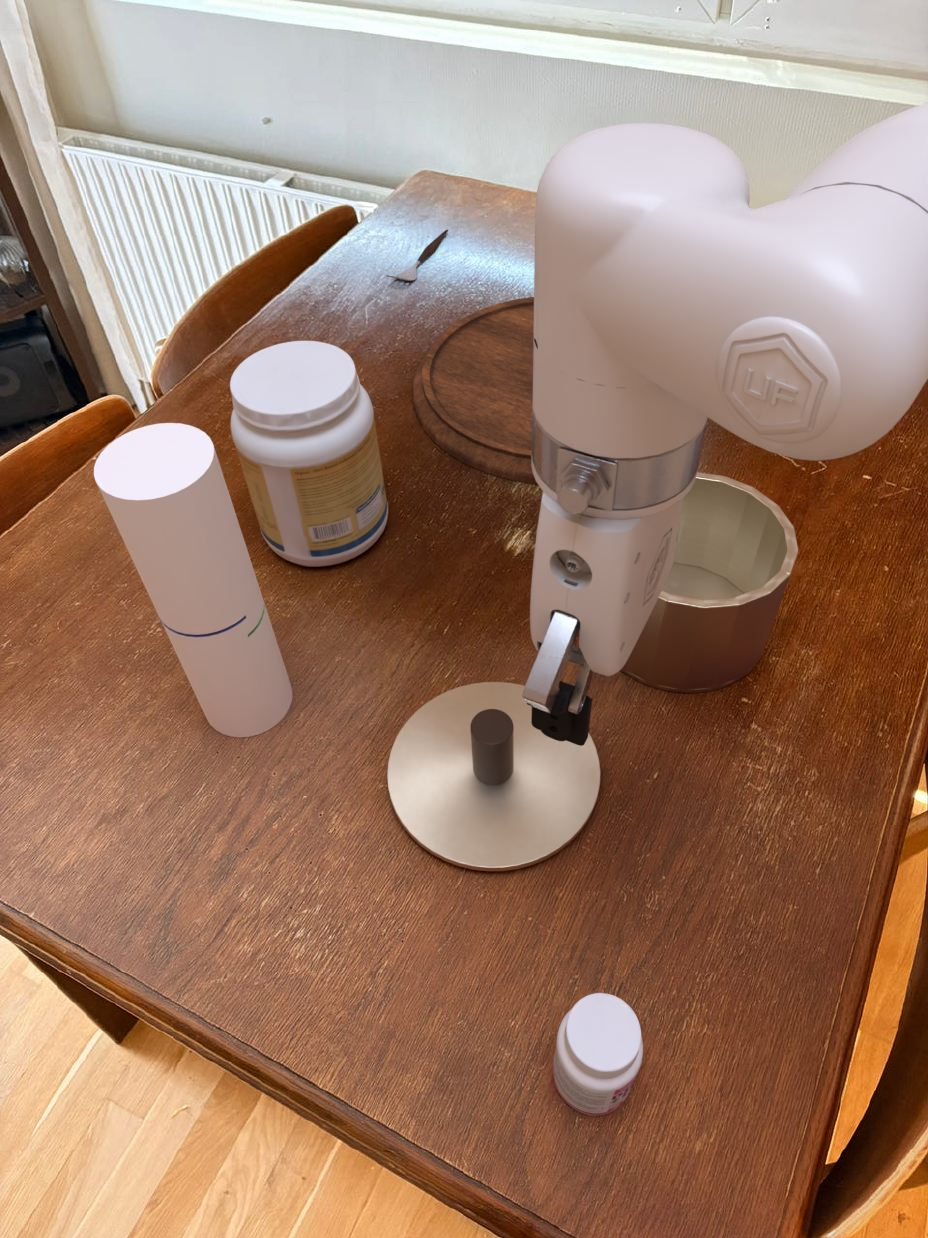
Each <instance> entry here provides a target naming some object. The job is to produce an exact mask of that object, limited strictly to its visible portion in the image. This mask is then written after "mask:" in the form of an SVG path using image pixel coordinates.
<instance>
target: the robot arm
mask: <svg viewBox="0 0 928 1238" xmlns="http://www.w3.org/2000/svg"><path fill="white" fill-rule="evenodd" d="M750 195H751V194H750V184H749V179H748V175H747V172H746V168H745V166H744V164H743V162H742V160H741V159H740V157H739V156H738V155H737V153H736V152H734V151H733V149H732V148H731V147H729V146H728V145H726V144H725V143H724V142H723V141H721V140H720V139H719V138H717V137H715V136H712V135H710V134H708V133H705V132H703V131H700V130H698V129H693V128H690V127H685V126H682V125H681V126H680V125H674V124H668V123H659V122H657V123H656V122H629V123H621V124H615V125H609V126H604V127H600V128H596V129H593V130H590V131H587V132H584V133H582V134H580V135H577V136H576V137H574V138H573V139H571V140H570V141H568V142H567V143H565V144H564V145H562V146H561V147H560V148H558V149H557V151H556V152H554V154H553V155H552V156H551V157H550V159H549V160H548V161H547V163H546V165H545V168H544V170H543V172H542V174H541V176H540V179H539V181H538V186H537V190H536V200H535V213H534V216H535V217H534V262H533V263H534V266H533V267H534V269H533V274H534V275H533V276H534V277H533V279H534V280H533V297H534V330H533V404H532V460H531V466H532V472H533V475H534V477H535V480H536V482H537V483H538V484H537V485H538V486H539V488H540V490H541V491H542V495H541V501H540V507H539V514H538V520H537V527H536V535H535V537H536V538H535V545H534V553H533V561H532V571H531V572H532V573H531V584H530V597H529V598H530V600H529V603H530V604H529V629H530V637H531V641H532V645H533V646H534V648H535V649H536V651H537V652H538V653H537V655H536V658H535V660H534V662H533V665H532V666H531V667H532V668H531V669H530V672H529V674H528V677H527V680H526V682H525V685H524V686H525V687H524V690H523V694H522V697H523V699H524V700H525V701H526V702H527V705H530V706H532V718H531V723H532V726H533V727H534V728H536V729H538V730H541V732H542V733H543V734H544V735H546V736H547V737H549V738H552V739H554V740H557V741H565V740H566V741H569V742H571V743H574V744H576V745H579V746H583V745H584V744H585V742H586V740H587V738H588V732H589V733H590V723H591V722H590V721H591V713H592V703H593V698H591V697H590V696H589V695H588V692H589V689H590V686H591V682H592V679H593V676H594V673H596V674H599V675H603V676H605V677H611V676H613V675H616V674H617V673H618V672H620V671H621V669H622V668H623V666H624V665H625V663H626V661H627V660H628V658H629V656H630V654H631V652H632V650H633V648H634V646H635V644H636V642H637V640H638V638H639V636H640V634H641V632H642V630H643V628H644V626H645V624H646V622H647V620H648V618H649V616H650V614H651V612H652V610H653V608H654V606H655V604H656V602H657V600H658V597H659V595H660V593H661V591H662V589H663V587H664V585H665V583H666V580H667V578H668V576H669V574H670V571H671V568H672V566H673V562H674V559H675V555H676V549H677V542H678V534H679V527H680V519H681V512H682V504H683V498H684V497H685V496H686V495H687V493H688V492H689V491H690V490H691V488H692V486H693V484H694V482H695V479H696V475H697V472H699V465H700V459H701V454H702V448H703V443H704V439H705V434H706V429H707V424H708V419H709V420H711V421H713V422H714V423H716V424H717V425H718V426H720V427H722V428H723V429H725V430H726V431H728V432H730V433H731V434H733V435H735V436H737V437H739V438H740V439H742V440H744V441H745V442H748V443H749V444H752V445H753V446H757V447H759V448H761V449H763V450H765V451H768V452H769V453H772V454H775V455H779V456H784V457H787V458H790V459H794V460H803V461H812V462H813V461H814V462H815V461H831V460H836V459H837V460H838V459H840V458H844V457H847V456H851V455H854V454H856V453H859V452H861V451H862V450H865V449H867V448H869V447H870V446H872V445H874V444H875V443H877V442H878V441H879V440H881V439H882V438H883V437H884V436H885V435H887V434H888V433H890V431H891V430H893V428H894V427H895V426H896V425H897V424H898V423H899V421H901V419H902V418H903V417H904V416H905V414H906V413H907V412H908V411H909V410H910V408H911V406H912V405H913V403H914V402H915V400H916V398H918V395H919V394H920V392H921V390H922V389H923V387H924V386H925V384H926V383H927V381H928V102H925V103H922V104H919V105H916V106H914V107H911V108H908V109H906V110H902V111H901V112H898V113H896V114H894V115H891V116H889V117H887V118H885V119H883V120H881V121H879V122H877V123H875V124H873V125H870V126H869V127H867V128H865V129H864V130H863V129H862V131H860V132H859V133H857V134H856V135H854V136H853V137H851V138H849V139H848V140H846V141H845V142H844V143H842V144H841V145H839V146H837V148H835V149H834V150H833V151H832V152H831V153H829V155H828V156H826V157H825V158H824V159H823V160H822V161H820V163H818V165H816V166H815V167H814V168H813V169H812V171H810V172H809V173H808V174H807V175H806V176H805V177H804V178H803V179H802V180H801V181H799V183H798V184H797V185H796V186H795V187H794V188H793V189H792V191H790V192H789V194H787V195H786V197H785V198H783V200H779V201H777V202H774V203H770V204H768V205H767V204H766V205H763V206H761V207H757V208H752V207H750V201H751V200H750V197H751V196H750ZM577 638H578V646H575V644H576V640H577ZM568 662H569V663H570V662H571V663H573V664H576V665H579V666H580V667H579V671H578V673H577V676H576V677H577V678H576V681H575V683H574V685H573V684H571V683H568V682H565V681H563V680H561V678H562V676H563V673H564V670H565V668H566V666H567V663H568Z"/></svg>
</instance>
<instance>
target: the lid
mask: <svg viewBox="0 0 928 1238" xmlns="http://www.w3.org/2000/svg"><path fill="white" fill-rule="evenodd" d="M524 687H525V685H524V684H520V683H514V682H506V681H505V682H504V681H482V682H474V683H470V684H464V685H461V686H457V687H455V688H452V689H450V690H446V691H444V692H442V693H440V694H438V695H437V696H435V697H433V698H431V699H430V700H429V701H427V702H425V703H424V704H423V705H421V706H420V707H419V708H418V709H417V710H415V712H414V713H413V714H412V715H411V716H410V717H409V718H408V719H407V720H406V721H405V723H404V724H403V726H402V727H401V729H400V730H399V732H398V733H397V735H396V737H395V740H394V741H393V744H392V747H391V749H390V752H389V756H388V761H387V768H386V769H387V770H386V781H387V790H388V794H389V799H390V803H391V806H392V808H393V811H394V813H395V815H396V818H397V819H398V821H399V823H400V824H401V826H402V828H403V829H404V830H405V831H406V832H407V834H408V835H409V836H410V838H412V839H413V841H415V842H416V843H417V844H418V845H419V846H420V847H421V848H423V849H424V850H425V851H427V852H428V853H430V854H431V855H432V856H434V857H437V858H439V859H440V860H442V861H444V862H446V863H449V864H451V865H454V866H457V867H460V868H465V869H468V870H473V871H483V872H505V871H506V872H507V871H512V870H519V869H522V868H526V867H530V866H533V865H536V864H538V863H540V862H543V861H546V860H548V859H549V858H551V857H552V856H554V855H557V853H559V852H561V851H562V850H563V849H564V848H566V847H567V846H569V844H571V843H572V841H574V840H575V839H576V837H578V835H580V833H581V832H582V831H583V829H584V828H585V826H586V825H587V824H588V822H589V820H590V819H591V816H592V815H593V813H594V811H595V810H594V809H595V808H596V804H597V801H598V798H599V792H600V787H601V774H602V773H601V763H600V758H599V754H598V750H597V747H596V745H595V741H594V740H593V737H592V735H591V734H590V731H589V732H588V738H587V740H586V742H585V744H584V745H583V746H579V745H576V744H574V743H571V742H569V741H566V740H565V741H557V740H554V739H552V738H549V737H547V736H546V735H544V734H543V733H542V732H541V730H538V729H536V728H534V727H533V726H532V723H531V718H532V706H530V705H527V702H526V701H525V700H524V699H523V697H522V694H523V690H524Z"/></svg>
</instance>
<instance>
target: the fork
mask: <svg viewBox="0 0 928 1238" xmlns="http://www.w3.org/2000/svg"><path fill="white" fill-rule="evenodd" d="M448 232H449V229H445V230H444V231H442V232H441V233H440V234H439V235H438V236H437V237H436V238H435V239H434V240H432V241H431V242H430V243H429V244H427V245H426V247H425V248H424V249H423V251H422V252H421V254H420V255H419V257H418V258H417V260H416V262H415V263H414V264H413V265H412V266H411V267H409V268H407V269H406V270H405V271H403V272H401V273H399V274H398V275H389V274H385V276H386V278H392V279H397V280H403V281H408V282H412V281H416V280H417V279H418V271H417V267H418V266H419V265H420V264H421V263H423V261H425V260H426V259H427V258H429V257H430V256H431V255H432V254H433V253H434V252H435V251H436V249H437V248H438V246H439V245H440V243H441V242H442V241H443V239H444V237H446V235H447V234H448Z"/></svg>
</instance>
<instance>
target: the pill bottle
mask: <svg viewBox="0 0 928 1238" xmlns="http://www.w3.org/2000/svg"><path fill="white" fill-rule="evenodd" d="M641 1028H642V1027H641V1024H640V1021H639V1019H638V1017H637V1014H636V1013H635V1011H634V1010H633V1008H632V1007H631V1006H630V1005H629V1004H628V1003H627V1002H625V1001H624V1000H623V999H621V998H620V997H618V996H616V995H613V994H610V993H606V992H597V993H591V994H587V995H586V996H584V997H582V998H581V999H579V1000H578V1001H577V1002H576V1003H575V1004H574V1005H573V1006H572V1008H570V1009H569V1010H568V1012H566V1014H565V1015H564V1017H563V1018H562V1020H561V1022H560V1024H559V1027H558V1030H557V1035H556V1042H555V1049H554V1055H553V1060H552V1077H553V1082H554V1084H555V1087H556V1089H557V1091H558V1093H559V1095H560V1096H561V1099H563V1101H564V1102H566V1104H567V1105H568V1106H570V1107H571V1108H573V1109H574V1110H575V1111H577V1112H579V1113H581V1114H585V1115H588V1116H596V1117H597V1116H604V1115H607V1114H610V1113H612V1112H614V1111H615V1110H618V1108H619V1107H620V1106H621V1105H622V1104H623V1103H624V1102H625V1101H626V1099H627V1098H628V1096H629V1094H630V1091H631V1089H632V1088H633V1084H634V1083H635V1080H636V1078H637V1076H638V1074H639V1071H640V1069H641V1066H642V1063H643V1057H644V1042H643V1037H642V1030H641Z"/></svg>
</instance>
